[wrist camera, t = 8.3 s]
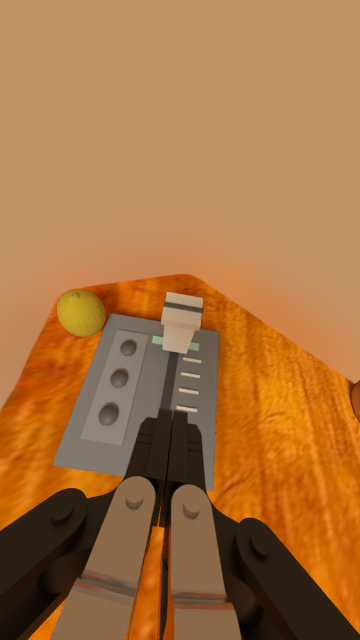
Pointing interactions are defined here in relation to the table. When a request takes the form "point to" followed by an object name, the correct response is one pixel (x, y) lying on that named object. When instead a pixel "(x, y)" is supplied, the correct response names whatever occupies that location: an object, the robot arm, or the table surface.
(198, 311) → the fader knob
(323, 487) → the table surface
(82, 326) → the lemon
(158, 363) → the console
